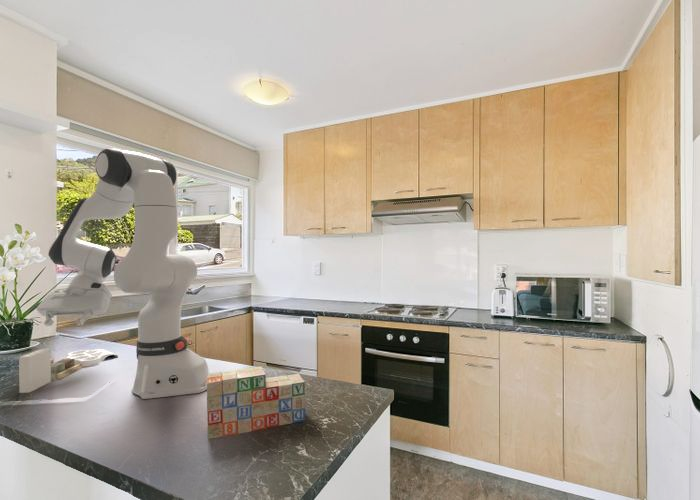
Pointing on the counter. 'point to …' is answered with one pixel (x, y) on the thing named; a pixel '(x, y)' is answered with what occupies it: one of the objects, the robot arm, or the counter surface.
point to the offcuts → (61, 366)
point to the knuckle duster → (89, 356)
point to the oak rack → (68, 371)
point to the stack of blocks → (252, 401)
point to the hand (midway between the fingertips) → (63, 324)
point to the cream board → (34, 370)
